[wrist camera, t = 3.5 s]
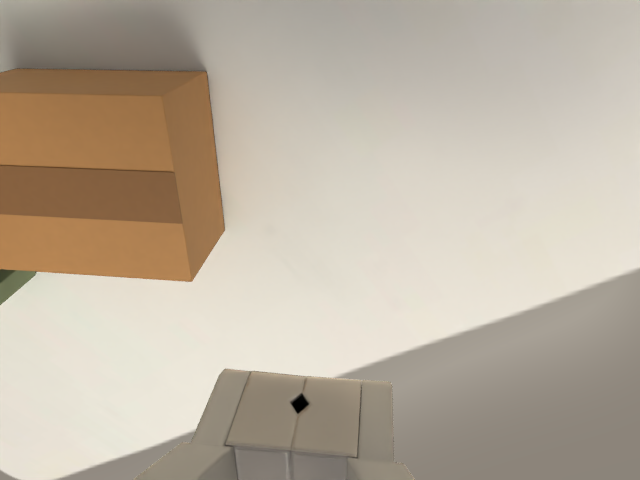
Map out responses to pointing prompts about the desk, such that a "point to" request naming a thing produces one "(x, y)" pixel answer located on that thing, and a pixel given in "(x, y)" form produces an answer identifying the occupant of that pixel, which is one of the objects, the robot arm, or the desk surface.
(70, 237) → the cardboard box
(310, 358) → the desk surface
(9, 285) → the cabinet
